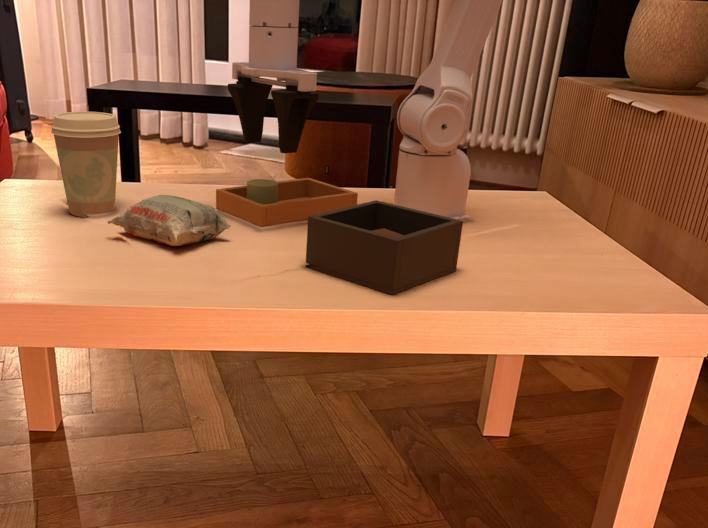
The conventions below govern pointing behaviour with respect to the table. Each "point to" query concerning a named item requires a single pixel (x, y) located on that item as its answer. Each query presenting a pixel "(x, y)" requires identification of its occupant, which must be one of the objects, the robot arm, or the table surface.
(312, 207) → the brown wooden tray
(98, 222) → the table surface
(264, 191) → the green cylinder
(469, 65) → the robot arm
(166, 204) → the packaged food
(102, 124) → the coffee cup
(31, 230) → the table surface
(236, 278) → the table surface
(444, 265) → the black basket
